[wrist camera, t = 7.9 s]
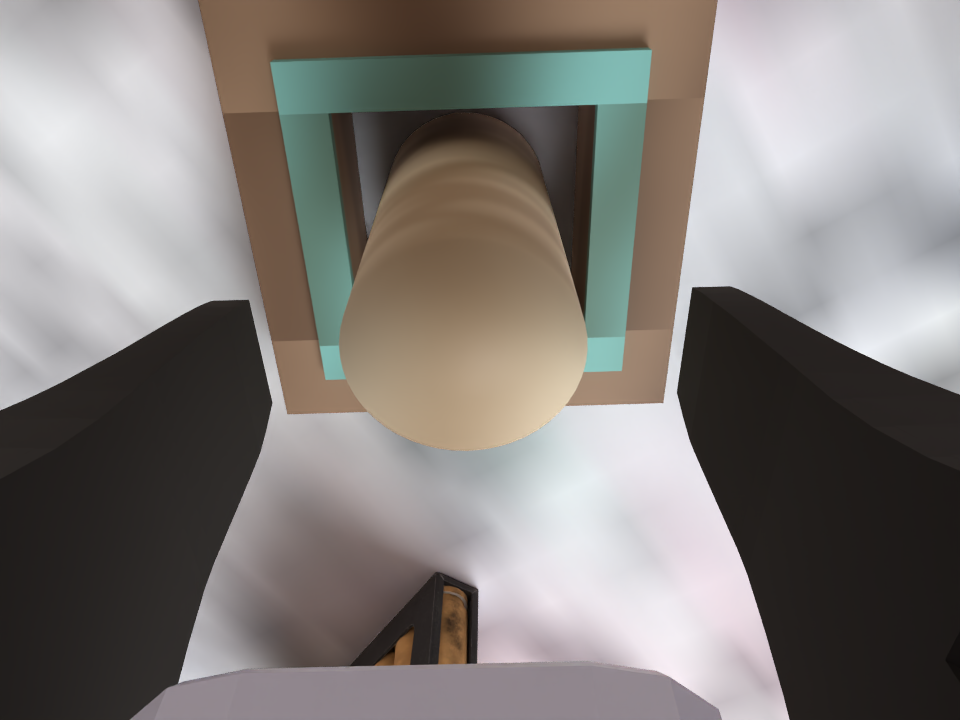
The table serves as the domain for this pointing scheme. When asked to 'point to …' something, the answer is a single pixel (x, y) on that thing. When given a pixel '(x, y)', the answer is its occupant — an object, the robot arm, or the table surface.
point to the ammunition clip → (429, 628)
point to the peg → (464, 293)
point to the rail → (464, 85)
